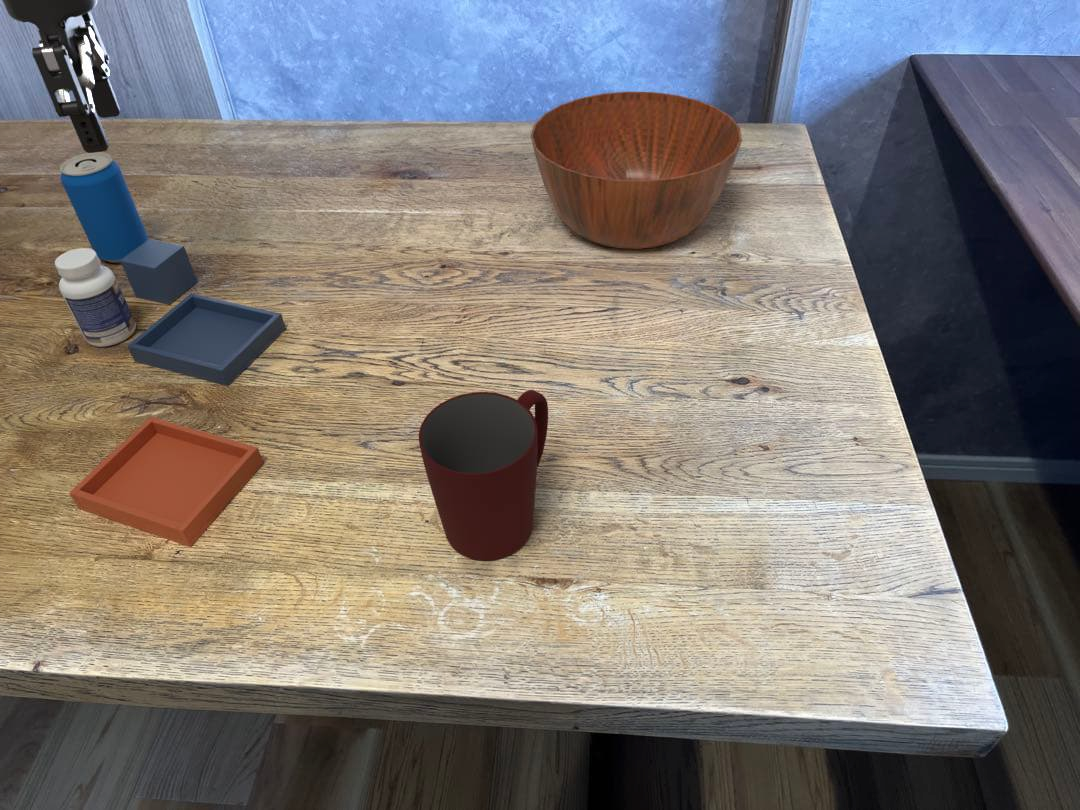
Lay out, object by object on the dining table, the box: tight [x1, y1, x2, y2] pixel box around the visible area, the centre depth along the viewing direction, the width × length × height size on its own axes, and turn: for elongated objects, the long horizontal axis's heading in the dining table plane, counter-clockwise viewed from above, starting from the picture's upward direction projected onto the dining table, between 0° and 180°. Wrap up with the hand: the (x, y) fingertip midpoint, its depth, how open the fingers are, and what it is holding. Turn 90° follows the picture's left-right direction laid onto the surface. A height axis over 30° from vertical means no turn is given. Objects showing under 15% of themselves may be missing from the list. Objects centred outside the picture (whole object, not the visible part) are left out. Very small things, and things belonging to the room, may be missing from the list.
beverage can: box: [59, 152, 150, 264], centre depth 99 cm, size 6×6×12 cm
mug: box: [418, 389, 549, 561], centre depth 66 cm, size 12×9×11 cm
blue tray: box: [126, 292, 287, 387], centre depth 87 cm, size 12×10×2 cm
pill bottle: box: [54, 247, 137, 348], centre depth 87 cm, size 5×5×10 cm
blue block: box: [120, 238, 198, 306], centre depth 95 cm, size 5×5×5 cm
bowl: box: [530, 91, 743, 250], centre depth 101 cm, size 25×25×11 cm
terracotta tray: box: [68, 416, 264, 548], centre depth 72 cm, size 12×10×2 cm
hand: (104, 132), depth 82 cm, fingers open, 8 cm apart
